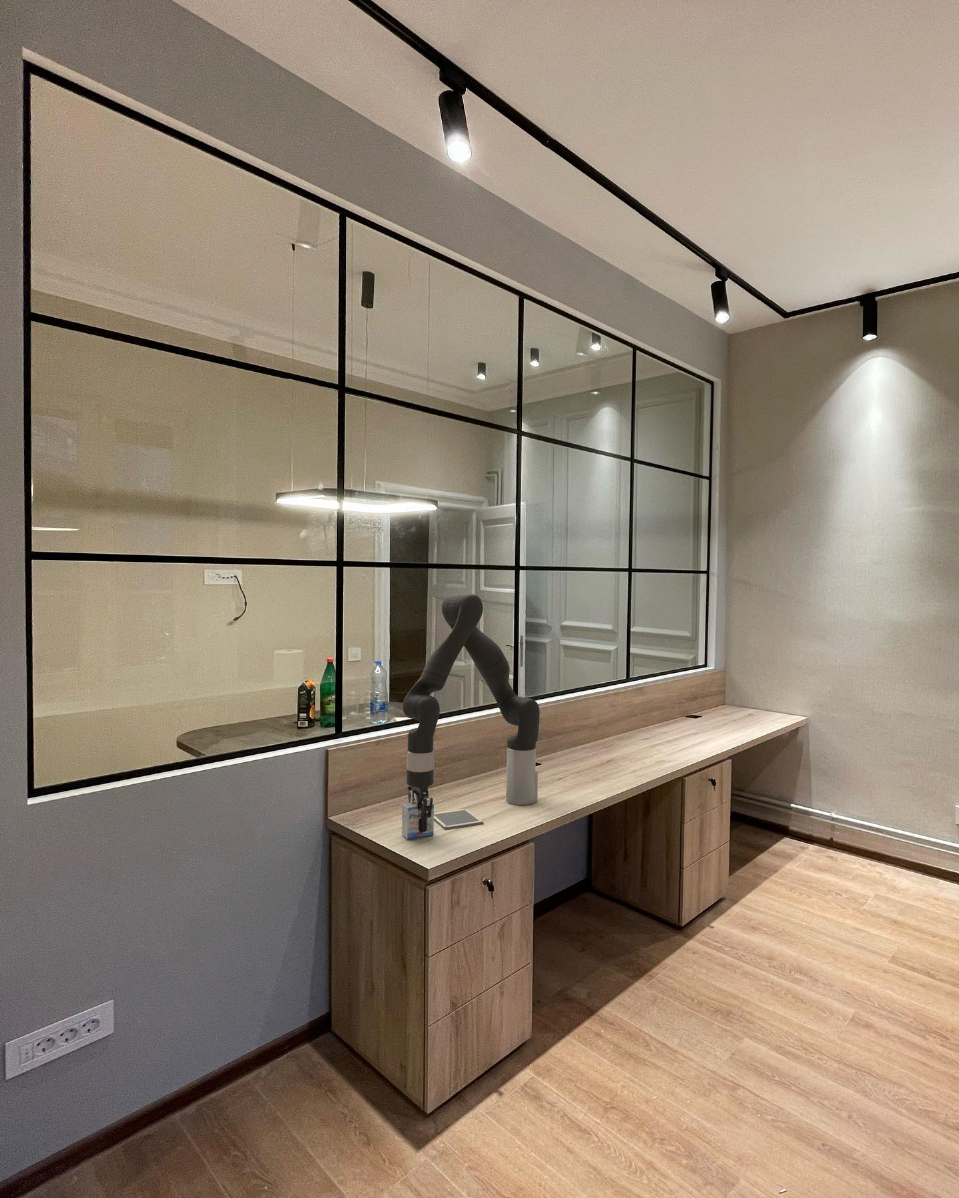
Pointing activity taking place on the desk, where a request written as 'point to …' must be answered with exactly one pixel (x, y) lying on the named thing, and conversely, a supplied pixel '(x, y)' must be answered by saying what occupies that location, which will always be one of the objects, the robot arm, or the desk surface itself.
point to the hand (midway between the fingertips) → (419, 828)
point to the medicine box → (415, 822)
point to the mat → (456, 819)
